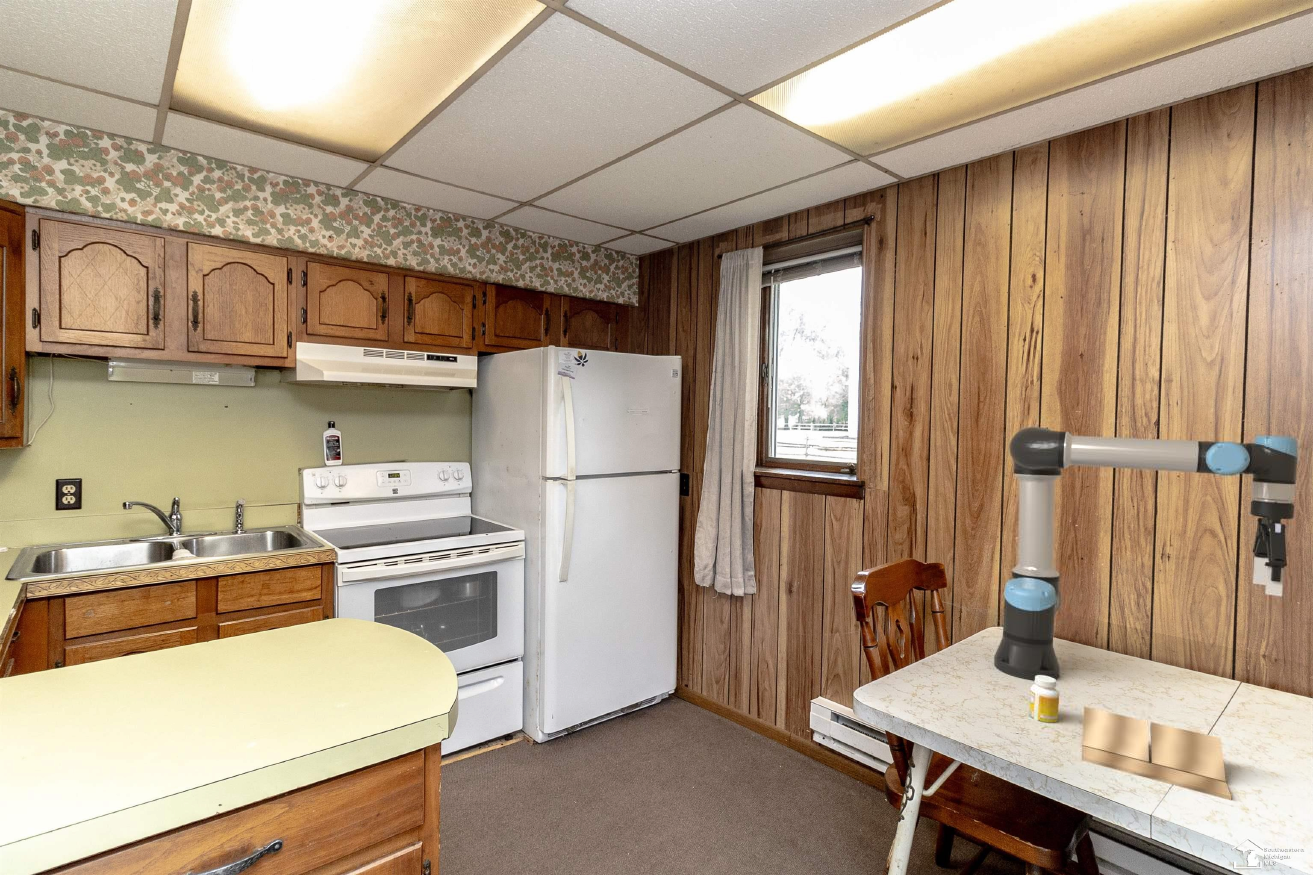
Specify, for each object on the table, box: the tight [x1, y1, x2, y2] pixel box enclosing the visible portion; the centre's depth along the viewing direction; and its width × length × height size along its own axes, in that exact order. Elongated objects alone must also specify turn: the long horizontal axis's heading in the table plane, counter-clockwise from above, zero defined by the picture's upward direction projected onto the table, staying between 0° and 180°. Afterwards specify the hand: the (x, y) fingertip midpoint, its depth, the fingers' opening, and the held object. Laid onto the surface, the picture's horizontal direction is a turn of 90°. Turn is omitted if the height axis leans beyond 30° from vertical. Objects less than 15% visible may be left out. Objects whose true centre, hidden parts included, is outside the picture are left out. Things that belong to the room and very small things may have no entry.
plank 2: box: [1149, 721, 1227, 783], centre depth 123 cm, size 10×9×1 cm
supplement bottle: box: [1028, 675, 1060, 724], centre depth 143 cm, size 5×5×10 cm
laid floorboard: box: [1081, 745, 1232, 801], centre depth 121 cm, size 22×5×1 cm, turn 56°
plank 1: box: [1081, 706, 1150, 763], centre depth 130 cm, size 10×9×1 cm
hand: (1266, 589), depth 156 cm, fingers open, 13 cm apart
